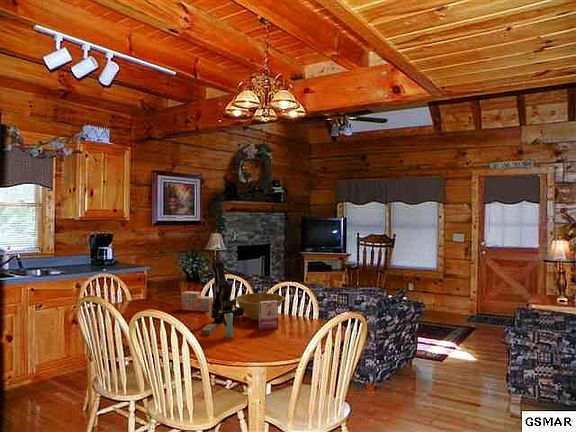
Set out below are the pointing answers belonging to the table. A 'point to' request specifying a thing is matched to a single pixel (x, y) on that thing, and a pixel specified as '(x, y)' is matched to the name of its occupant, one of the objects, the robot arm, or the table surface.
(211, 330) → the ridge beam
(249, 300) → the planter bowl
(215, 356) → the table surface
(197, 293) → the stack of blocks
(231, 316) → the rod
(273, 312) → the candy bar box
